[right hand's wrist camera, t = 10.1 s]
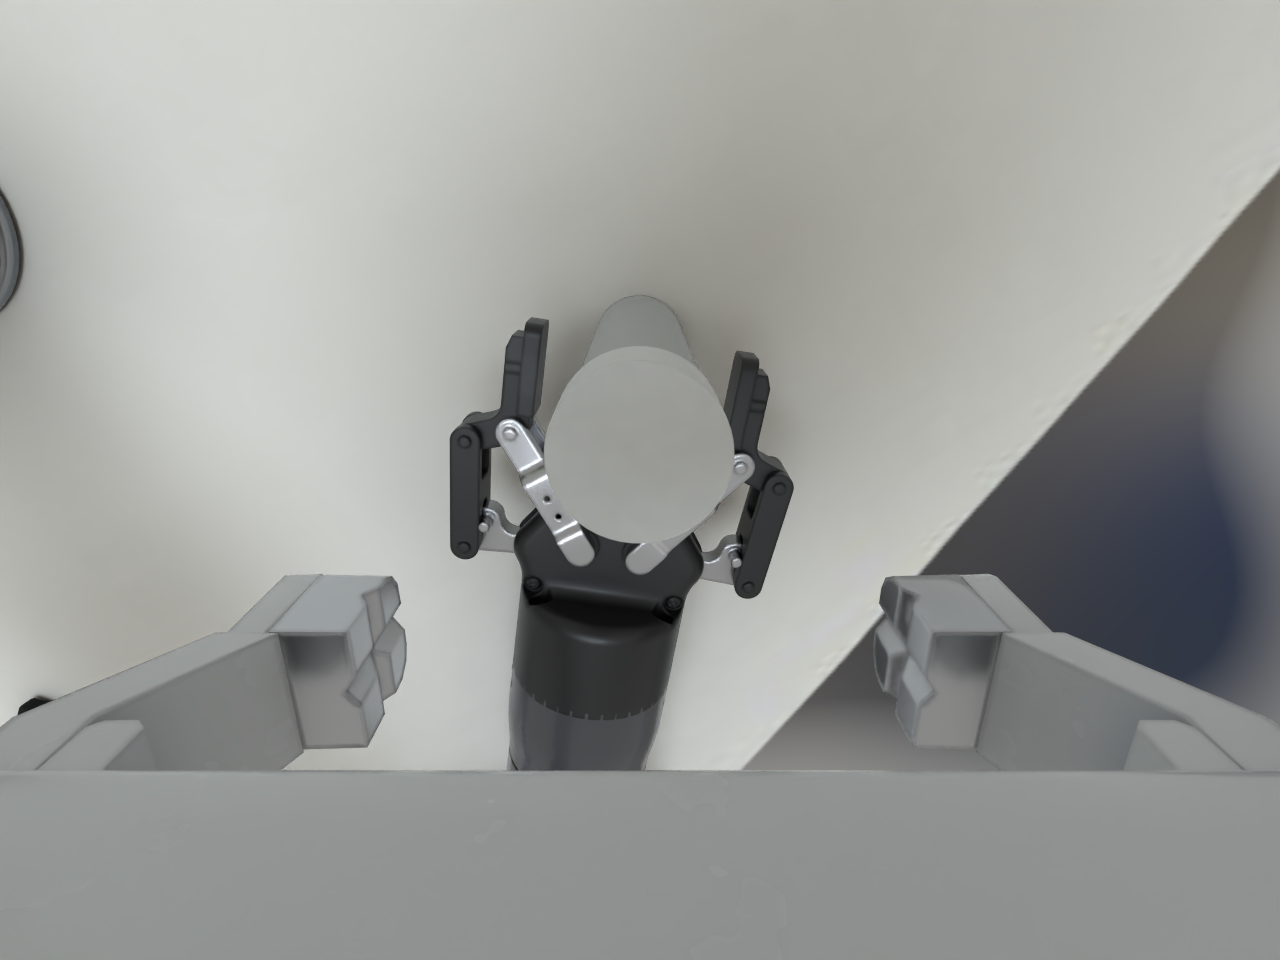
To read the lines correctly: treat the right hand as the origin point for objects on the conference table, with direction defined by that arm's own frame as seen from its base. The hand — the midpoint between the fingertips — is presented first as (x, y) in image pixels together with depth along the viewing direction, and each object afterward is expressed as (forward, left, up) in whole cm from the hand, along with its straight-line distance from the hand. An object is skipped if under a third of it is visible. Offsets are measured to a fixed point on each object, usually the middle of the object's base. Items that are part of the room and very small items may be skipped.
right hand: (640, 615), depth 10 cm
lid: (0, 0, -8) cm, 8 cm away
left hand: (-1, -1, -19) cm, 19 cm away
